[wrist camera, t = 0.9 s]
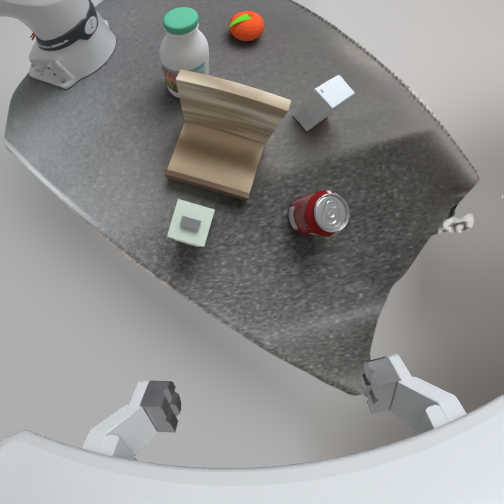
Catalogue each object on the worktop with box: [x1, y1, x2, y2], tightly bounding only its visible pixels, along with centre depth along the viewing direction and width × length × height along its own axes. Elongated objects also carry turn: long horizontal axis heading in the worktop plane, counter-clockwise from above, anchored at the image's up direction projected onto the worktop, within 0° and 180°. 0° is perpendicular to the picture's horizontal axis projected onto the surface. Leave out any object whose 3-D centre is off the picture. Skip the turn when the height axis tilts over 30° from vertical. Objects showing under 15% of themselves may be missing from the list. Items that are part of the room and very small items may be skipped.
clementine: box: [227, 11, 264, 41], centre depth 42 cm, size 8×7×7 cm
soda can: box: [288, 190, 349, 236], centre depth 45 cm, size 7×7×12 cm
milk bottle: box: [160, 7, 209, 98], centre depth 36 cm, size 8×8×20 cm
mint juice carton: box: [167, 199, 215, 247], centre depth 42 cm, size 5×5×13 cm
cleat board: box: [164, 69, 291, 201], centre depth 39 cm, size 11×14×18 cm
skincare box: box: [293, 75, 355, 131], centre depth 43 cm, size 6×4×12 cm
